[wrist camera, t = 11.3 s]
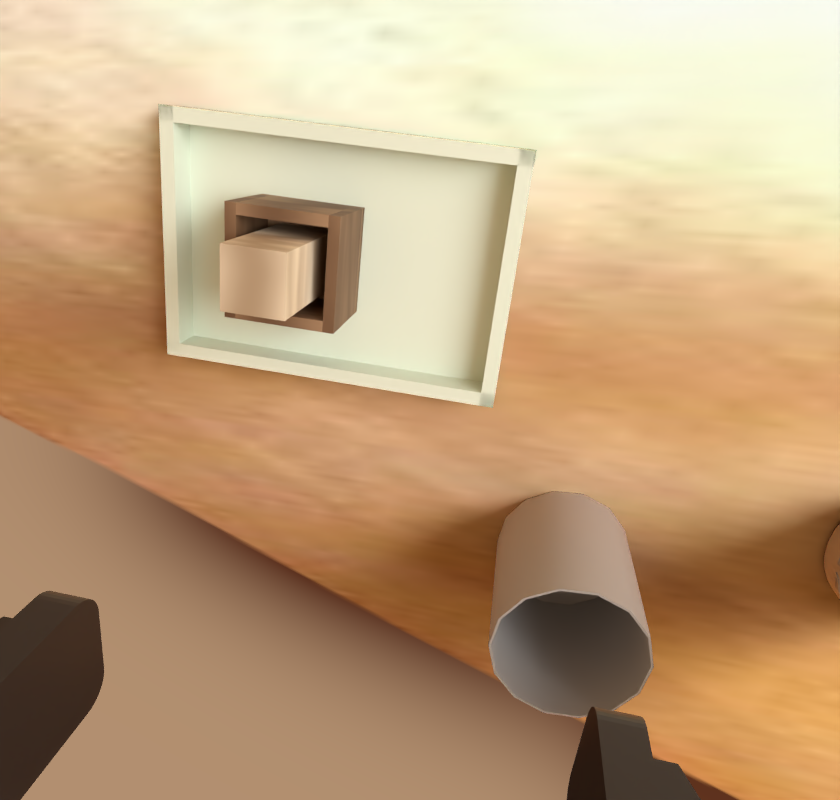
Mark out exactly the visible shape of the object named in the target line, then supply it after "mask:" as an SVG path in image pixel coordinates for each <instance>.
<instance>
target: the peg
mask: <svg viewBox="0 0 840 800" xmlns="http://www.w3.org/2000/svg"><path fill="white" fill-rule="evenodd" d="M327 240H328V230H327V229H320V228H313V227H306V226H299V225H291V224H284V223H280V224H277V225H274V226H271V227H268V228H265V229H261V230H258V231H255V232H252V233H249V234H246V235H243V236H240V237H237V238H233V239H230V240H227V241H224V242H221V243H220V311H222V312H228V313H235V314H241V315H248V316H254V317H261V318H267V319H274V320H280V321H286V320H287V319H289V318H290V317H291V316H293V315H294V314H295V313H297V312H298V311H300V310H301V309H302V308H304V307H305V306H307V305H308V304H309V303H311V302H312V301H313V300H315V299H316V298H318V297H319V296H320V295H322V294H323V293H324V292H325V275H326V257H327Z"/></svg>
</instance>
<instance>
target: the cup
mask: <svg viewBox="0 0 840 800" xmlns="http://www.w3.org/2000/svg"><path fill="white" fill-rule="evenodd" d="M489 650H490V655H491V660H492V665H493V670H494V674H495V675H496V676H497V677H498V679H499V680H500V681H501V682H502V683H503V685H504V686H505V687H506V688H507V689H508V691H509V692H510V693H511V694H512V696H513V697H515V698H517V699H518V700H520V701H522V702H524V703H526V704H528V705H530V706H532V707H534V708H536V709H538V710H539V711H541V712H543V713H548V714H555V715H562V716H569V717H576V718H581V717H586V716H587V715H588V712H589V710H590V708H591V707H597V708H602V709H607V710H612V711H614V710H616V709H617V708H619V707H620V706H622V705H623V704H625V703H626V702H628V701H629V700H631V699H632V698H634V697H635V696H637V695H638V694H640V692H641V690H642V688H643V686H644V684H645V683H646V681H647V679H648V677H649V675H650V673H651V671H652V669H653V667H654V666H653V656H652V646H651V637H650V633H649V628H648V624H647V620H646V616H645V612H644V607H643V603H642V599H641V595H640V591H639V587H638V582H637V578H636V574H635V570H634V566H633V562H632V557H631V553H630V549H629V545H628V541H627V537H626V532H625V529H624V528H623V526H622V525H621V524H620V522H619V521H618V520H617V518H616V517H615V515H614V514H613V513H612V511H611V510H610V508H608V507H606V506H605V505H603V504H601V503H599V502H597V501H595V500H594V499H592V498H590V497H588V496H586V495H584V494H578V493H568V492H558V491H552V492H549V493H546V494H542V495H539V496H536V497H532V498H529V499H526V500H525V501H523V502H522V503H521V504H520V505H519V506H518V507H517V508H516V509H514V510H513V511H512V512H511V513H510V514H509V515H508V516H507V517H506V518H505V521H504V524H503V526H502V529H501V532H500V535H499V538H498V541H497V553H496V564H495V576H494V587H493V599H492V610H491V622H490V633H489Z"/></svg>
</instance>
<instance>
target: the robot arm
mask: <svg viewBox="0 0 840 800" xmlns="http://www.w3.org/2000/svg"><path fill="white" fill-rule="evenodd" d="M824 569H825V573H826V577H827V580H828V582H829V584H830V585H831V587H832V589H833V590H834V592H835V594H836V595H837V597H838V598H839V600H840V524H839V525H838V526H837V528H836V529H835V530H834V532H833V534H832V536H831V537H830V539H829V541H828V544H827V547H826V551H825V554H824ZM103 677H104V664H103V653H102V642H101V632H100V621H99V611H98V606H97V604H96V602H95V601H93V600H91V599H86V598H82V597H77V596H72V595H67V594H62V593H57V592H53V591H46V592H43V593H41V594H39V595H38V596H37V597H36V598H34V599H33V600H32V601H31V602H30V603H29V604H28V605H27V606H26V607H25V608H24V609H22V611H20V612H19V613H18V614H17V615H16V616H15V617H14V618H8V617H2V618H0V800H21V798H22V797H23V796H24V794H25V793H26V792H27V791H28V789H29V788H30V787H31V786H32V784H33V783H34V782H35V780H36V779H37V778H38V777H39V775H40V774H41V773H42V771H43V770H44V769H45V767H46V766H47V765H48V764H49V762H50V761H51V760H52V758H53V757H54V756H55V755H56V753H57V752H58V751H59V749H60V748H61V747H62V746H63V744H64V743H65V742H66V741H67V739H68V738H69V737H70V735H71V734H72V733H73V731H74V730H75V729H76V728H77V726H78V725H79V724H80V723H81V721H82V720H83V719H84V717H85V716H86V715H87V714H88V712H89V711H90V709H91V708H92V706H93V705H94V703H95V701H96V699H97V697H98V694H99V692H100V689H101V686H102V682H103ZM567 800H701V799H700V798H699V796H698V794H697V793H696V791H695V790H694V788H693V787H692V785H691V784H690V782H689V780H688V779H687V778H686V776H685V774H684V773H683V771H682V769H681V768H680V766H679V765H678V764H675V763H671V762H666V761H662V760H657V759H653V757H652V752H651V747H650V741H649V736H648V731H647V727H646V723H645V721H644V719H643V718H642V717H640V716H636V715H631V714H626V713H621V712H617V711H612V710H607V709H602V708H597V707H591V708H590V710H589V712H588V715H587V718H586V722H585V726H584V729H583V733H582V736H581V740H580V743H579V747H578V750H577V754H576V757H575V761H574V764H573V768H572V772H571V775H570V781H569V786H568V793H567Z"/></svg>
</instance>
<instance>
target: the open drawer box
mask: <svg viewBox="0 0 840 800" xmlns="http://www.w3.org/2000/svg"><path fill="white" fill-rule="evenodd" d="M364 211H365V208H364V207H357V206H349V205H342V204H335V203H327V202H320V201H313V200H305V199H298V198H291V197H283V196H276V195H269V194H258V195H253V196H247V197H242V198H237V199H232V200H226V201H224V221H225V241H227V240H230V239H233V238H237V237H240V236H243V235H246V234H249V233H252V232H255V231H258V230H261V229H265V228H268V227H271V226H274V225H277V224H280V223H284V224H291V225H299V226H306V227H313V228H320V229H327V230H328V240H327V257H326V275H325V292H324V293H323V294H322V295H320V296H319V297H318V298H316V299H315V300H313V301H312V302H311V303H309V304H308V305H307V306H305V307H304V308H302V309H301V310H300V311H298V312H297V313H295V314H294V315H293V316H291V317H290V318H289V319H287V320H286V321H280V320H274V319H267V318H261V317H254V316H248V315H241V314H235V313H228V312H225V317H229V318H235V319H241V320H248V321H254V322H260V323H267V324H273V325H279V326H286V327H292V328H298V329H305V330H311V331H317V332H324V333H330V334H334V333H335V332H336V331H337V330H338V329H339V328H340V327H341V326H342V325H343V324H344V323H345V322H346V321H347V320H348V319H349V318H350V317H351V316H352V315H353V314H355V313H356V312H357V301H358V288H359V275H360V262H361V249H362V236H363V224H364Z"/></svg>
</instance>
